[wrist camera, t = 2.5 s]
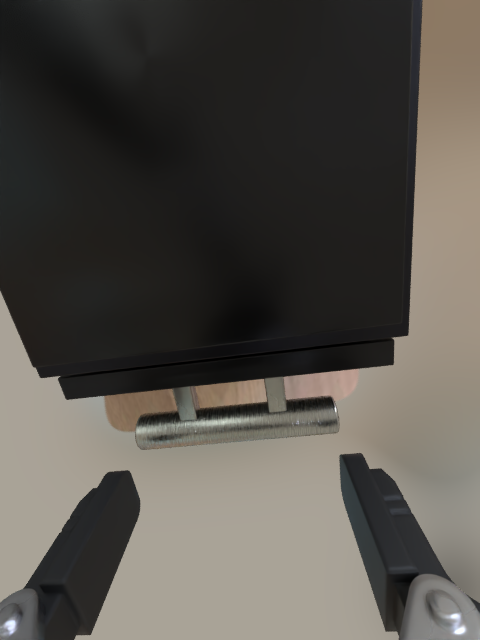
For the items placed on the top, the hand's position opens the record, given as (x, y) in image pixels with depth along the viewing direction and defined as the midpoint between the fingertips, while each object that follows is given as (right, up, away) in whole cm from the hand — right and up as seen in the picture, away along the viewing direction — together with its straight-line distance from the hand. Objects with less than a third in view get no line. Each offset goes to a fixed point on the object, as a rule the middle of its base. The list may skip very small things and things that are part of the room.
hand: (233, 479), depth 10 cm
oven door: (0, +7, +14) cm, 15 cm away
